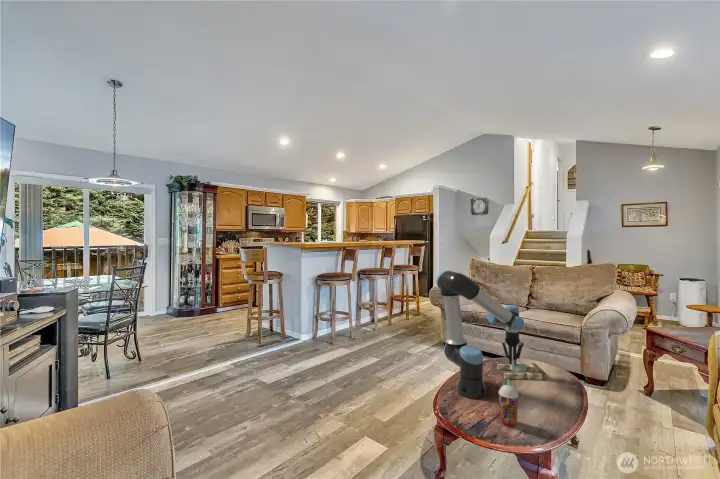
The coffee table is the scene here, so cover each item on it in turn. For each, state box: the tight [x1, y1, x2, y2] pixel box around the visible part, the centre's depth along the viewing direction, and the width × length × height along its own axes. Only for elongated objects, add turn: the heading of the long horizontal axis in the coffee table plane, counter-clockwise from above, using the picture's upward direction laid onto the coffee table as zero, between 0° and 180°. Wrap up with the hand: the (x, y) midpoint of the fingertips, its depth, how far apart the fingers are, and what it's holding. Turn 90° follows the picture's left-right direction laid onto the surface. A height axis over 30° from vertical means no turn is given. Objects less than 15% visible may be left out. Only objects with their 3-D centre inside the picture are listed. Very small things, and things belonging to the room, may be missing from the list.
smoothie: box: [497, 379, 519, 427], centre depth 153 cm, size 8×8×20 cm
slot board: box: [496, 362, 547, 381], centre depth 205 cm, size 23×15×4 cm, turn 84°
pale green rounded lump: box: [512, 361, 527, 373], centre depth 205 cm, size 7×7×6 cm
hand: (512, 369), depth 205 cm, fingers closed
